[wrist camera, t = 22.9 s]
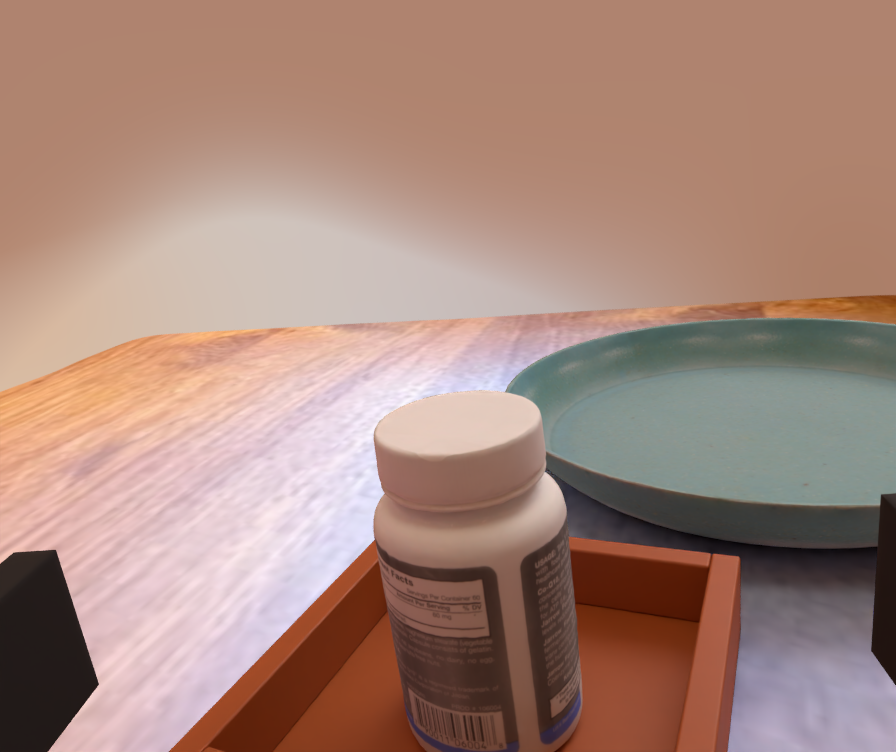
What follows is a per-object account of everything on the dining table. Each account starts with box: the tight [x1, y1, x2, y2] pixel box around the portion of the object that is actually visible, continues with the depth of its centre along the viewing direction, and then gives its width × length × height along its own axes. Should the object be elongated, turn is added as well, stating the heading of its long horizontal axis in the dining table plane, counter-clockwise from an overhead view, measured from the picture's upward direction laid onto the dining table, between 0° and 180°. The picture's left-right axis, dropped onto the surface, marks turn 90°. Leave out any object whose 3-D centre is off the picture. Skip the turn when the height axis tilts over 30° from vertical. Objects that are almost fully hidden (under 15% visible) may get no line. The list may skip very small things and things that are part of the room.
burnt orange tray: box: [169, 537, 741, 752], centre depth 19 cm, size 12×12×3 cm
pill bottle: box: [374, 390, 582, 752], centre depth 18 cm, size 5×5×8 cm
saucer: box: [505, 318, 896, 549], centre depth 34 cm, size 24×24×3 cm
